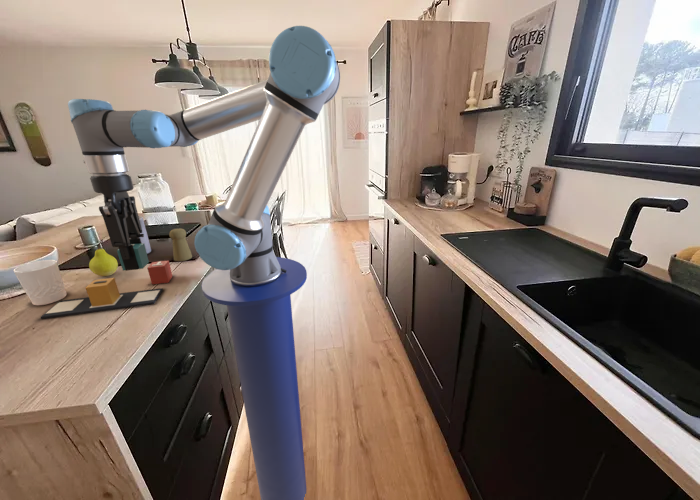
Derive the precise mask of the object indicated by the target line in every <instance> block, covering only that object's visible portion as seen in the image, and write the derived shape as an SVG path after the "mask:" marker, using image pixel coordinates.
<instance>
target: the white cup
mask: <svg viewBox="0 0 700 500" xmlns="http://www.w3.org/2000/svg"><path fill="white" fill-rule="evenodd" d="M12 272H13V273H14V275H15V276H16V278H17V280H18V282H19V284H20V285H21V288H22V290H23V291H24V292H25V294H26V296H27V297H28V298H29V300H30V302H31V304H32V305H33V306H44V305H49V304H52V303H53V304H54V303H55V302H60V301H61V300H63V299H64V298H65V297H66V296H67V294H68V293H67V291H66V288H65V283H64V279H63V276H62V273H61V270H60V267H59V264H58V261H57V260H55V259H42V260H37V261H31V262H28V263H24V264H22V265H19V266H17V267H15V268H14V269H13V270H12Z"/></svg>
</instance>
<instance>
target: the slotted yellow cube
mask: <svg viewBox="0 0 700 500" xmlns="http://www.w3.org/2000/svg"><path fill="white" fill-rule="evenodd" d="M85 290H86V294H87V297H89V299H90V302H91V304H92V307H93V306H101V305H109V304H113V303H114V302H115V301H116V300H117V299H118V298H119V296H120V293H121V292H120V289H119V287H118V284H117V281H116V278H115V277H109V278H99V279H93V280H92V281H91V282H90V283H89V284H88V285H87V286H85Z"/></svg>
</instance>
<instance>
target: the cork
mask: <svg viewBox="0 0 700 500" xmlns="http://www.w3.org/2000/svg"><path fill="white" fill-rule="evenodd" d="M168 236H169V238H170V239H171V241H172V255H173V261H174V262H184V261H189V260H191V259H192V258H193V254H192V251H191V249H190V247H189V243H188V241H187V238H186V237H187V231H186V230H185V229H184V228H173V229H171V230H170V231H169V234H168Z"/></svg>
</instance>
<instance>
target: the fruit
mask: <svg viewBox="0 0 700 500" xmlns="http://www.w3.org/2000/svg"><path fill="white" fill-rule="evenodd" d="M103 240H104V238H101V240H100V241H99V242H98V248H97V249H96V250H95V251H94V256H93V257H92V258H91V259H90V260H89V264H88V268H89V270H90V272H92V273H93V274H94V275H97V276H100V277H109V276H112V275H113V274H115V273H116V271H117V270H118V266H119V263H118V260H117V258H115V257H114V256H113V255H112V254H109V253H108V252H106V250H105V249H104V248H100V245H101V243H102V242H103Z"/></svg>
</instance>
